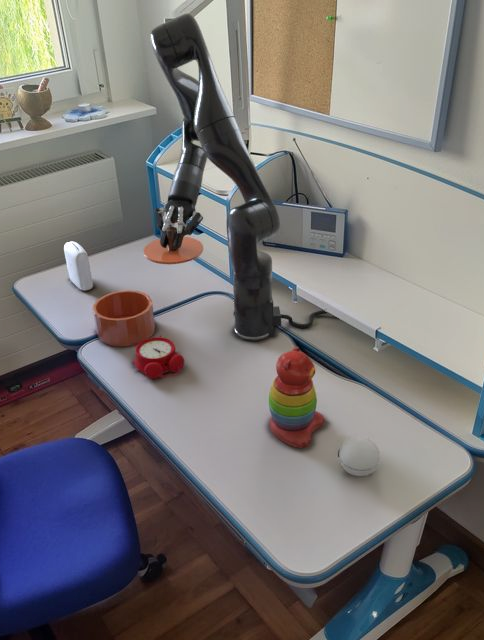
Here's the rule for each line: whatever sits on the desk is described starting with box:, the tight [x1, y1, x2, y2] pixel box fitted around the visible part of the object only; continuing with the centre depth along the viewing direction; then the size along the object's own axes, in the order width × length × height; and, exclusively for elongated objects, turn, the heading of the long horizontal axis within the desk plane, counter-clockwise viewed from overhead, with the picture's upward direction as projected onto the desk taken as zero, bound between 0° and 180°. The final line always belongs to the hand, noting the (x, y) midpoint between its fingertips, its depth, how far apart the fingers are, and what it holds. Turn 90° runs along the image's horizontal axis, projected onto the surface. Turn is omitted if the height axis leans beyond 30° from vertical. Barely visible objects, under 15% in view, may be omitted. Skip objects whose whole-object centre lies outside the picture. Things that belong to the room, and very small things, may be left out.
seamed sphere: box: [337, 435, 381, 477], centre depth 119 cm, size 10×7×7 cm
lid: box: [143, 226, 204, 265], centre depth 170 cm, size 16×16×7 cm
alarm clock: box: [131, 334, 185, 380], centre depth 152 cm, size 10×6×15 cm
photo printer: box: [63, 240, 94, 291], centre depth 186 cm, size 10×4×12 cm, turn 32°
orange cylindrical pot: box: [92, 289, 156, 347], centre depth 165 cm, size 15×15×8 cm
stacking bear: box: [268, 346, 326, 449], centre depth 128 cm, size 11×10×18 cm
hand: (169, 247), depth 169 cm, fingers closed on lid, 3 cm apart
